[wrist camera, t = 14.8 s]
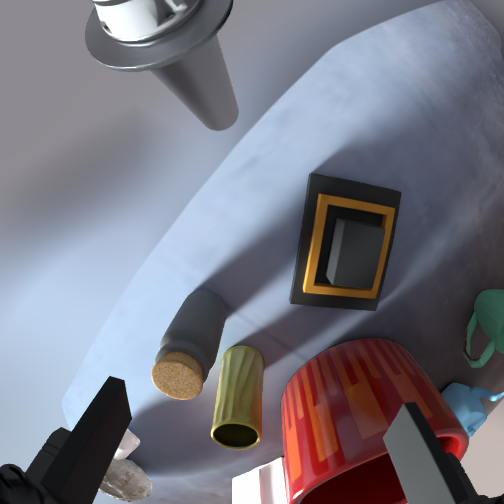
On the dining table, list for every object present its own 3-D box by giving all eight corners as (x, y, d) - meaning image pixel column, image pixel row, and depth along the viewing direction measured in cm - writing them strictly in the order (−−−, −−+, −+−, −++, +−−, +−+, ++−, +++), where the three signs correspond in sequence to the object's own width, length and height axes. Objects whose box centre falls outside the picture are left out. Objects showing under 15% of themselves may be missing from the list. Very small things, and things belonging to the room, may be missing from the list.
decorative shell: (89, 431, 45) (72, 460, 35) (160, 463, 46) (150, 496, 37) (91, 461, 49) (79, 485, 40) (151, 487, 50) (143, 514, 41)
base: (309, 173, 32) (312, 172, 30) (397, 191, 32) (406, 192, 30) (289, 300, 36) (291, 308, 33) (372, 307, 36) (379, 315, 33)
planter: (267, 433, 42) (269, 529, 22) (298, 326, 37) (326, 446, 17) (381, 431, 42) (411, 508, 23) (431, 335, 37) (501, 411, 17)
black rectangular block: (334, 217, 32) (344, 221, 28) (372, 223, 32) (386, 228, 28) (324, 273, 33) (332, 285, 30) (361, 278, 34) (372, 289, 30)
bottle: (233, 321, 37) (220, 398, 22) (195, 333, 37) (165, 408, 23) (216, 283, 35) (189, 347, 21) (176, 297, 36) (132, 361, 21)
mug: (490, 264, 34) (529, 282, 24) (503, 298, 35) (536, 319, 25) (437, 327, 36) (470, 359, 27) (454, 355, 38) (482, 385, 28)
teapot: (487, 370, 39) (514, 398, 28) (434, 429, 43) (453, 462, 32) (467, 354, 38) (499, 386, 27) (406, 421, 42) (426, 460, 31)
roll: (149, 427, 43) (141, 448, 38) (130, 447, 45) (122, 465, 40) (122, 411, 42) (112, 430, 37) (107, 433, 45) (98, 450, 39)
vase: (266, 375, 39) (268, 450, 25) (226, 379, 39) (214, 452, 25) (260, 342, 37) (261, 417, 23) (217, 346, 38) (199, 420, 24)
